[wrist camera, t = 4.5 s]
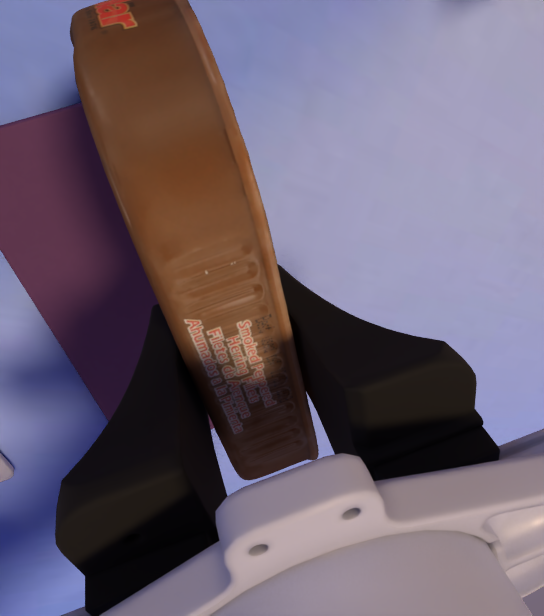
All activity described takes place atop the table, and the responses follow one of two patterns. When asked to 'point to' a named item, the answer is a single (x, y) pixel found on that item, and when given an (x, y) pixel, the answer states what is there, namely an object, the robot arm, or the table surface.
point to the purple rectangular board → (74, 248)
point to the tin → (196, 221)
